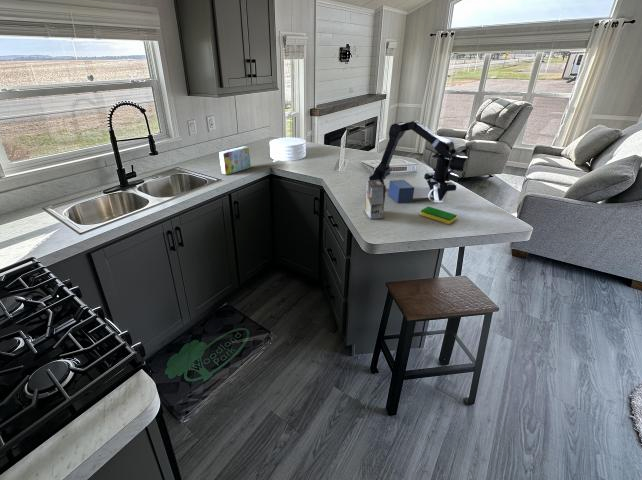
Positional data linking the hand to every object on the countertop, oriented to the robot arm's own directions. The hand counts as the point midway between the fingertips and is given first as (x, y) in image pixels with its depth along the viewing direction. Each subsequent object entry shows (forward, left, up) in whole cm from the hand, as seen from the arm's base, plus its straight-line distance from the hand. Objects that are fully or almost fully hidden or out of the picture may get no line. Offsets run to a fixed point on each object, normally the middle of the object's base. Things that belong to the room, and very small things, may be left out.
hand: (436, 197), depth 161 cm
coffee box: (-33, -3, -5) cm, 34 cm away
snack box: (-100, +81, -5) cm, 129 cm away
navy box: (-3, +14, -5) cm, 15 cm away
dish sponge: (-5, -11, -5) cm, 13 cm away
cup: (0, 0, -2) cm, 2 cm away
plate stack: (-60, +111, -5) cm, 126 cm away
